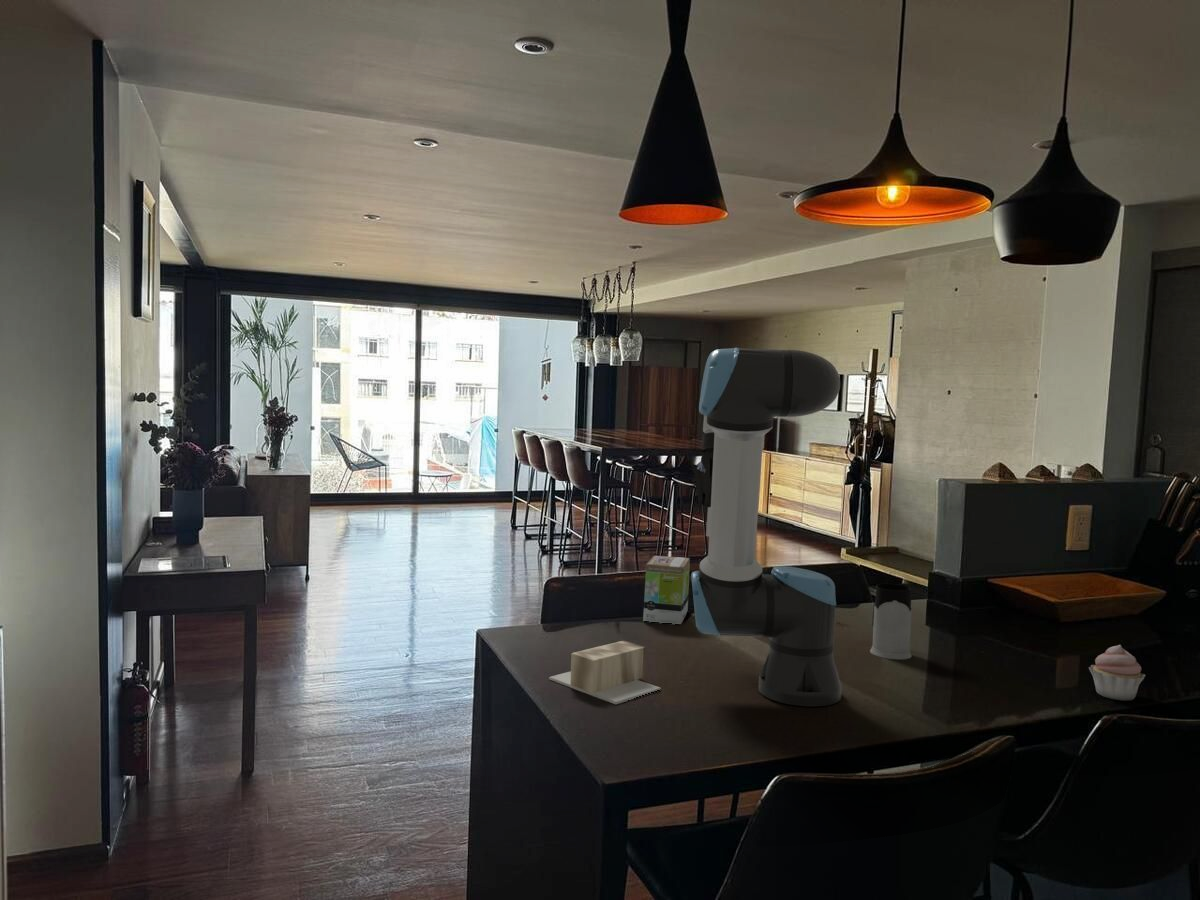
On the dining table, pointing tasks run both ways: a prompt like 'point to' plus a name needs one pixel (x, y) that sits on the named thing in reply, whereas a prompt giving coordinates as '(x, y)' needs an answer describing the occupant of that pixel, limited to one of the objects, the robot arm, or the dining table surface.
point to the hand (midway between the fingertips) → (712, 536)
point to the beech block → (607, 666)
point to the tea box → (666, 589)
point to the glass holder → (892, 622)
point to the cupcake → (1116, 674)
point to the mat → (611, 689)
